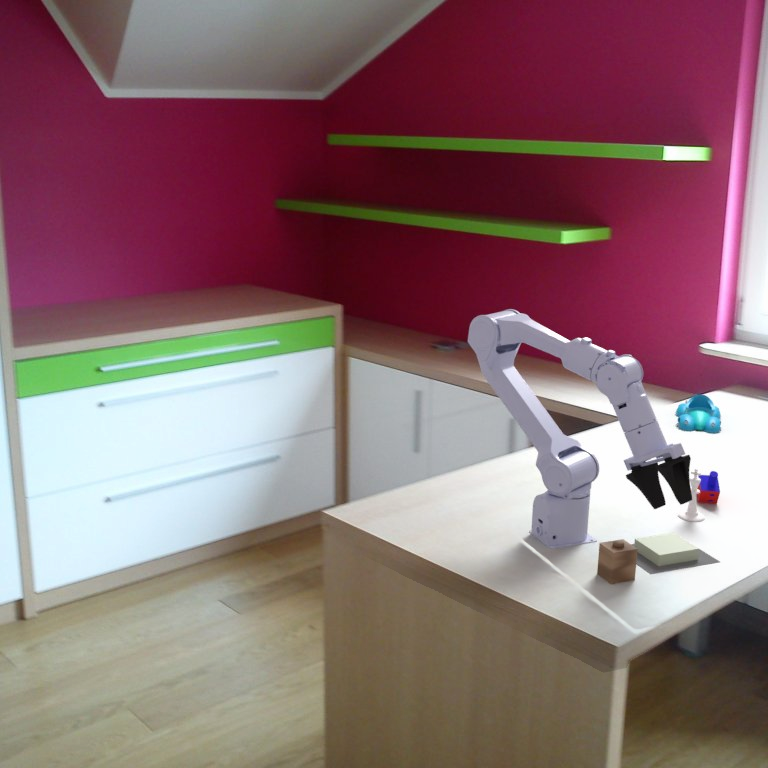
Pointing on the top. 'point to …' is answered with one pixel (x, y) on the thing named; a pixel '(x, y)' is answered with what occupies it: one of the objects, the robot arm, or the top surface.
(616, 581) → the walnut snap block
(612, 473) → the top surface
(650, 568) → the build mat
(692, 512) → the chess piece
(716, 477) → the toy building block
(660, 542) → the base block
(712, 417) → the toy car
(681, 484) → the robot arm
